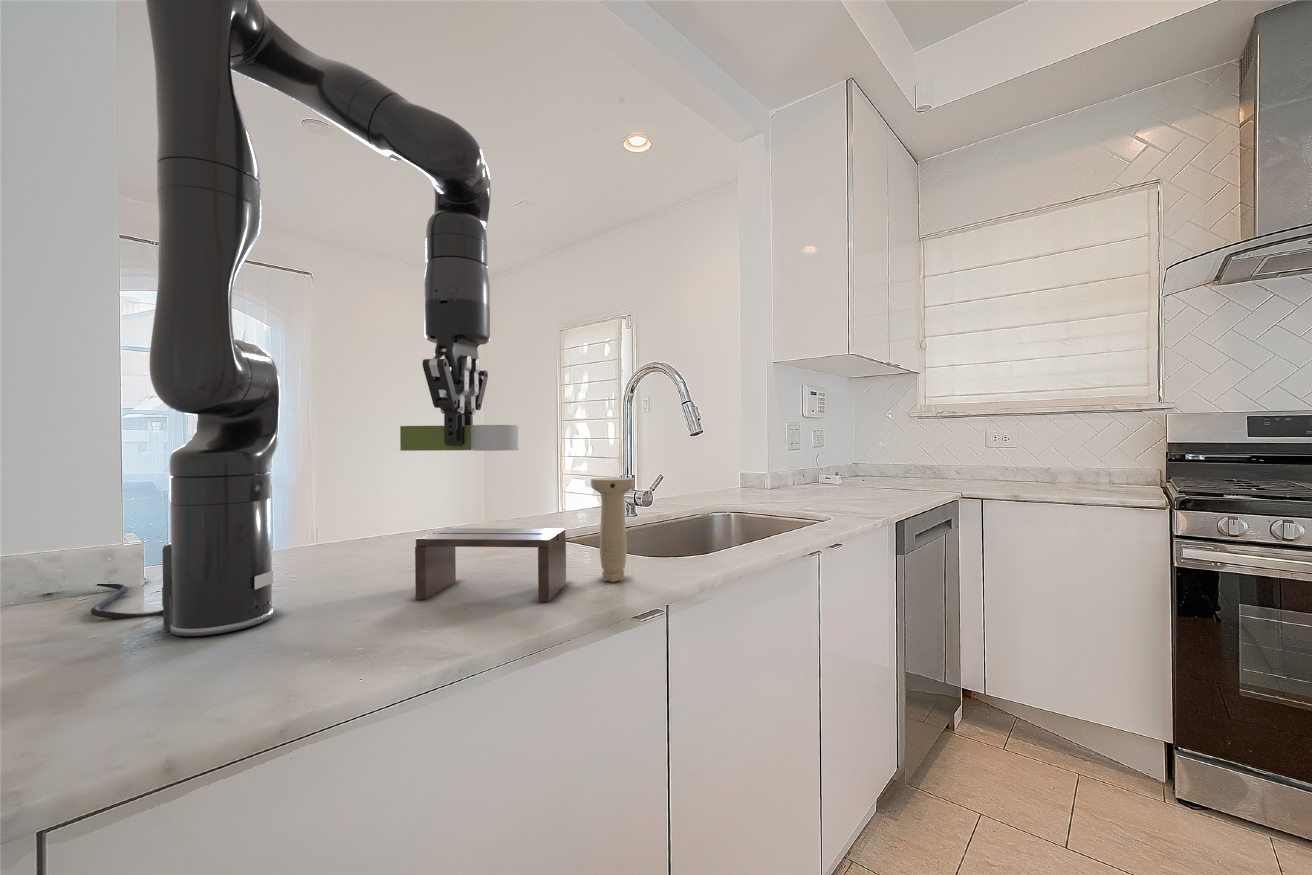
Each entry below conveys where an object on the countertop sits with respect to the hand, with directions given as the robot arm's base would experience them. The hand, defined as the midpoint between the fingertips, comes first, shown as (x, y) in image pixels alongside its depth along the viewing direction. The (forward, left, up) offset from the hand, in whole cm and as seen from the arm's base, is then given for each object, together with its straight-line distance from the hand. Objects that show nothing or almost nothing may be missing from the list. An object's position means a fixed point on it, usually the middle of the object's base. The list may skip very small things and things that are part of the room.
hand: (458, 444), depth 68 cm
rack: (+1, +9, -20) cm, 23 cm away
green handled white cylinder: (0, 0, -1) cm, 1 cm away
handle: (+16, +16, -21) cm, 31 cm away
